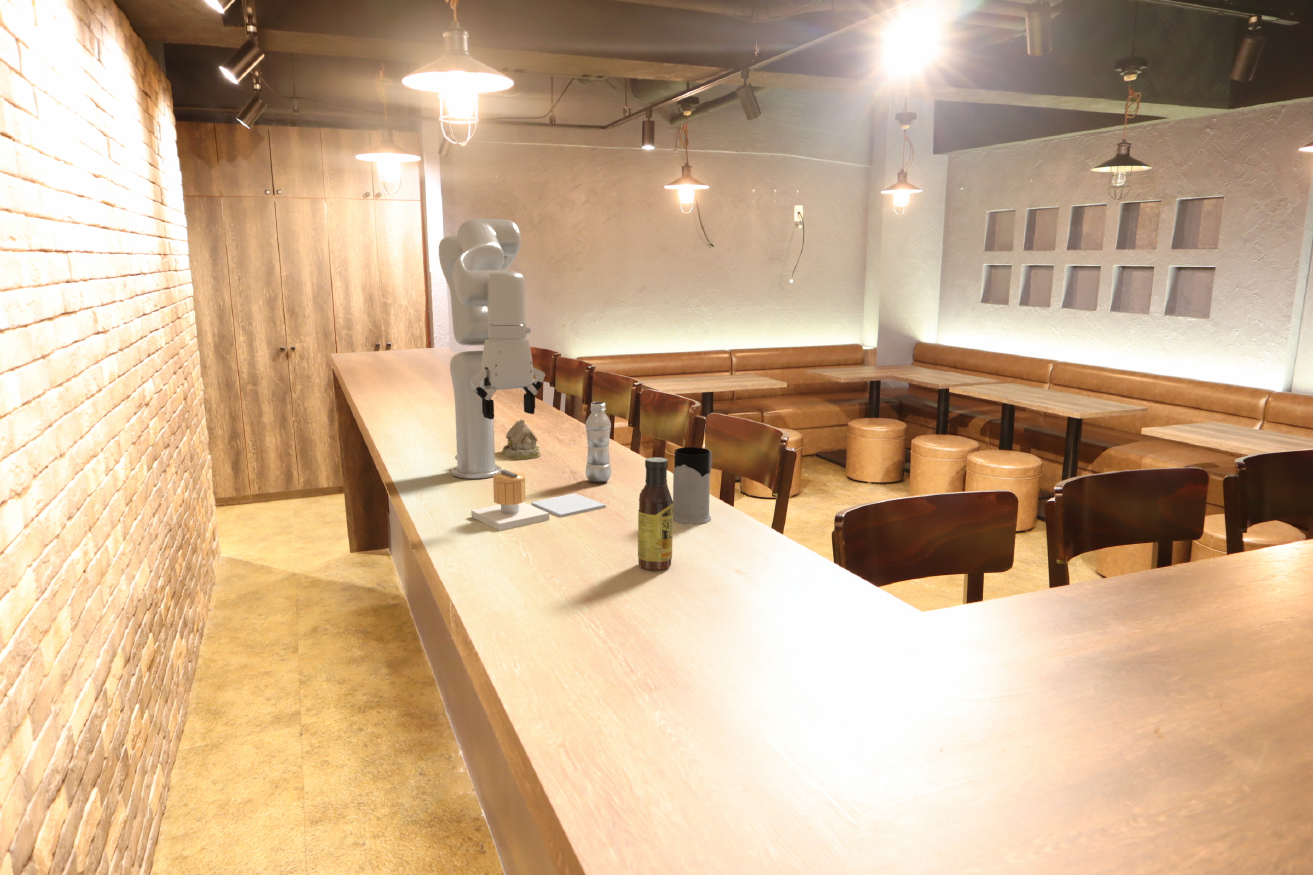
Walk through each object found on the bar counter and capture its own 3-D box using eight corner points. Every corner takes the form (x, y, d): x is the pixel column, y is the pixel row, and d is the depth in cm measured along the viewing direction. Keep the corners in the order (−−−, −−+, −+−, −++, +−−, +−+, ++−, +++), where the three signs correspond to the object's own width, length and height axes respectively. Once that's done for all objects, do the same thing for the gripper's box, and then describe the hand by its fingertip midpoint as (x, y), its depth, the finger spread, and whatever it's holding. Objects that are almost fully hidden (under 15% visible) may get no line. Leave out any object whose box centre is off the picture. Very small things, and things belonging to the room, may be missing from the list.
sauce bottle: (668, 573, 147) (670, 465, 143) (634, 570, 148) (634, 462, 144) (675, 561, 153) (676, 456, 149) (642, 558, 154) (643, 454, 150)
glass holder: (663, 520, 177) (664, 452, 174) (691, 504, 189) (693, 440, 186) (700, 527, 173) (702, 457, 170) (727, 510, 185) (729, 444, 182)
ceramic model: (497, 450, 241) (496, 417, 239) (534, 447, 246) (533, 414, 244) (510, 461, 229) (509, 425, 227) (549, 457, 233) (549, 422, 231)
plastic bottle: (613, 478, 211) (613, 401, 207) (609, 485, 204) (609, 405, 200) (588, 477, 212) (587, 400, 207) (583, 484, 205) (582, 405, 201)
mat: (531, 504, 188) (531, 502, 187) (575, 495, 195) (574, 493, 195) (560, 517, 179) (560, 514, 179) (605, 507, 186) (605, 504, 186)
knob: (488, 499, 177) (487, 471, 176) (515, 494, 181) (514, 466, 180) (504, 506, 172) (503, 477, 171) (531, 501, 176) (530, 472, 175)
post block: (471, 516, 178) (470, 478, 176) (519, 506, 186) (519, 470, 184) (499, 530, 169) (498, 490, 167) (549, 519, 177) (548, 481, 175)
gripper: (533, 330, 178) (534, 409, 181) (460, 334, 167) (463, 417, 170) (553, 332, 172) (554, 413, 176) (478, 336, 161) (481, 423, 164)
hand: (509, 415), depth 173 cm, fingers open, 9 cm apart
